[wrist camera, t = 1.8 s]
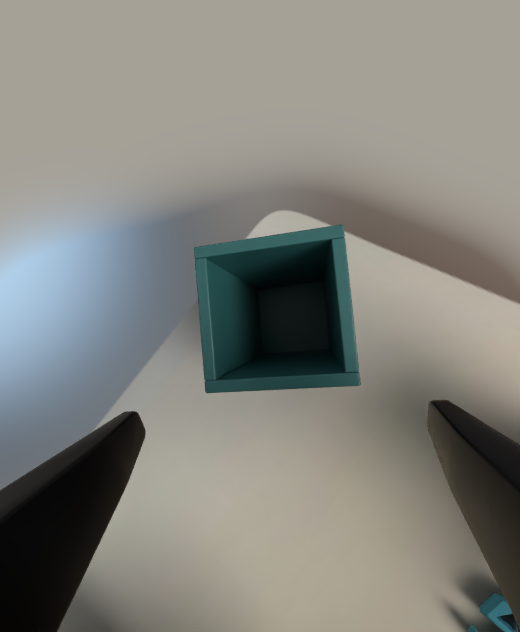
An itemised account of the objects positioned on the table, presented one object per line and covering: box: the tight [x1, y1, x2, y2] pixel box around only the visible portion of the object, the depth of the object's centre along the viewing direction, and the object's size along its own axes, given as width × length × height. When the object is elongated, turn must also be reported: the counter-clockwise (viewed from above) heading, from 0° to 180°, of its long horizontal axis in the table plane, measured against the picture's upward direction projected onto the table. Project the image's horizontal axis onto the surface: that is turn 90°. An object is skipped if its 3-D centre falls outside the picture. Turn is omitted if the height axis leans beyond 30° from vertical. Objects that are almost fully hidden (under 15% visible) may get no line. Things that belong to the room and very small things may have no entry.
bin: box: [194, 225, 360, 393], centre depth 16 cm, size 6×6×11 cm
